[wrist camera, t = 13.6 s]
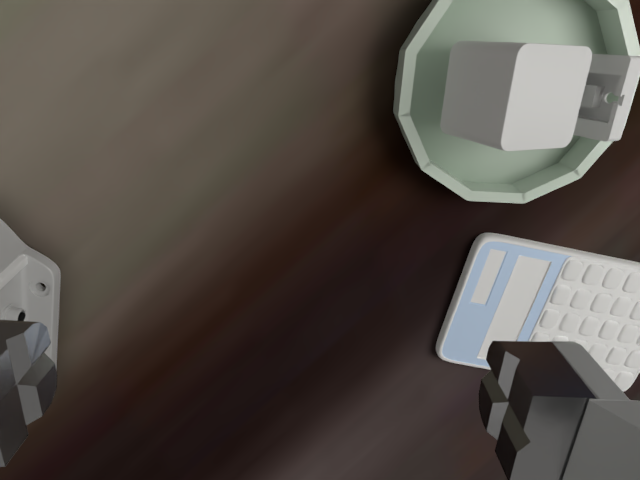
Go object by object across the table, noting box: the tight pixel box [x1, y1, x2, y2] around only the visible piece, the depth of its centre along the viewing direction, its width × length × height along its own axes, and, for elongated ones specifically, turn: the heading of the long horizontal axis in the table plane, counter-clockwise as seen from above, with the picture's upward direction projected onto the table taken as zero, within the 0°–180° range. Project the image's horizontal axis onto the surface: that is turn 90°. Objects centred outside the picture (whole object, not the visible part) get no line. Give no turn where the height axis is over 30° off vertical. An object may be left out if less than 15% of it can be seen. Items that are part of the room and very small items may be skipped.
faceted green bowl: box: [393, 0, 640, 203], centre depth 35 cm, size 17×17×3 cm
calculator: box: [436, 233, 640, 392], centre depth 44 cm, size 13×20×2 cm, turn 78°
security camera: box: [440, 41, 640, 151], centre depth 33 cm, size 6×7×10 cm
